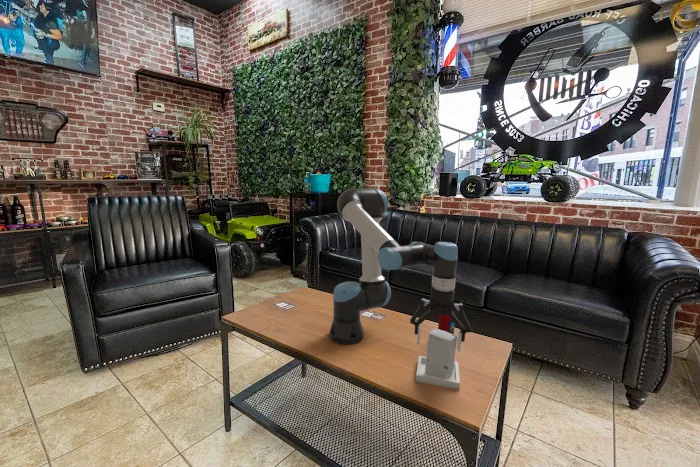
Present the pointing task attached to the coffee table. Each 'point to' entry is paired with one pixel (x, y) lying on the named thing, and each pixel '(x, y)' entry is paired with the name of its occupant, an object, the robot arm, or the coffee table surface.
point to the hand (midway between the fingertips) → (438, 346)
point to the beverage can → (446, 324)
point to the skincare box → (440, 353)
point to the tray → (434, 380)
